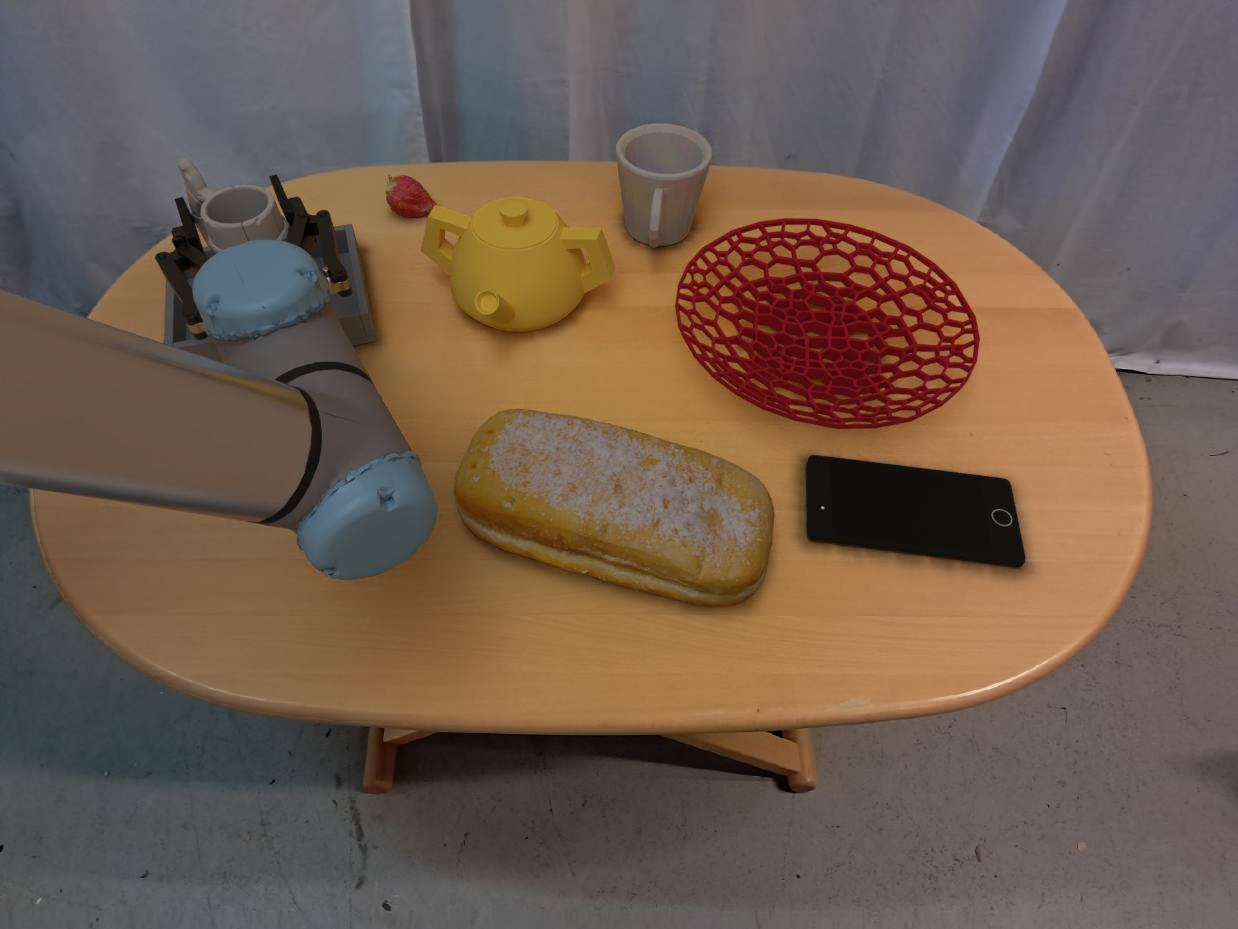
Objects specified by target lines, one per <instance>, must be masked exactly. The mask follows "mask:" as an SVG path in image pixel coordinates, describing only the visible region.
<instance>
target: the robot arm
mask: <svg viewBox="0 0 1238 929" xmlns="http://www.w3.org/2000/svg"><path fill="white" fill-rule="evenodd" d="M268 178H269V180H270V183H271V185H272V188H273V191H274V194H275V197H276V200H277V202H278V204H279V207H280V209H281V211H282V213H283V217H284V218H285V219H286V220H287V222H288V223H289V225H290V227H291V231H290V234H289V238H288V241H287V242H284V241H279V240H253V241H247V242H246V243H244V244H240V245H237V246H233V247H228V248H226V249H224V250H222V251H220V252H218V253H217V254H215V255H214V256H212V257H211V258H209V257H207V256H206V255H205V253H204V250H203V247H204V246H203V244H202V241H201V238H200V234H199V230H198V228H197V226H196V224H195V222H194V220H193V218H192V216H191V213H192V212H191V210H190V209H189V207H188V204H187V203H186V201H185V198H184V197H183V196H180V197H177V198H174V202H175V206H176V208H177V211H178V216H179V219H180V222H181V225H179V226H175V227H172V229H171V232H170V233H171V236H172V238H171V243H172V244H173V246H174V250H173V251H170V252H171V253H168V252H169V251H159V252H158V253H156V254H155V256H154V259H155V261H156V263H157V265H158V266H159V269H160V271H161V272H162V274H163V276H164V278H165V281H166V280H167V281H168V283H169V284H170V286H171V288H172V289H173V291H174V292H175V294H176V295H177V297H178V299H179V300H180V302H181V303H182V305H183V310H182V316H183V318H184V320H185V322H186V324H187V325H188V327H189V329H190V331H191V333H192V335H193V336H194V338H195V339H196V340H203V339H205V338H207V337H208V336H209V337H211V338H212V340H213V342H214V344H215V346H216V348H217V350H218V352H219V354H220V356H221V358H222V360H223V363H222V362H219V361H216V360H213V359H210V358H207V357H203V356H200V355H197V354H194V353H191V352H188V351H185V350H182V349H179V348H176V347H173V346H170V345H167V344H164V342H161V341H157V340H155V339H152V338H148V337H145V336H143V335H139V334H137V333H134V332H130V331H128V330H124V329H122V328H119V327H116V326H113V325H110V324H107V323H104V322H101V321H97V320H96V319H95V320H94V319H91V318H89V317H85V316H82V315H80V314H76V313H73V312H71V311H67V310H64V309H60V308H58V307H55V306H52V305H49V304H46V303H43V302H40V301H37V300H35V299H31V298H28V297H25V296H21V295H19V294H15V293H13V292H9V291H6V290H3V289H1V288H0V485H6V486H11V487H18V488H25V489H32V490H36V491H37V490H39V491H44V492H52V493H57V494H64V495H70V496H77V497H82V498H83V497H84V498H90V499H96V500H104V501H109V502H117V503H124V504H131V505H134V506H135V505H136V506H142V507H149V508H155V509H156V508H157V509H163V510H168V511H175V512H182V513H187V514H193V515H194V514H195V515H201V516H207V517H215V518H220V519H227V520H234V521H240V522H246V523H252V524H258V525H261V526H266V527H274V528H280V529H285V530H289V531H292V532H293V533H294V534H295V535H296V544H297V547H298V549H299V550H300V551H302V552H303V553H304V555H305V556H306V558H307V560H308V561H309V563H311V565H312V566H313V568H315V570H317V571H318V572H320V573H323V574H324V576H325V577H329V578H331V579H335V580H340V581H355V580H356V581H357V580H363V579H367V578H372V577H375V576H378V575H381V574H383V573H386V572H388V571H390V570H393V569H395V568H396V567H399V566H400V565H402V564H403V563H405V562H406V561H407V560H409V559H411V558H412V557H413V556H414V555H415V554H416V553H417V552H418V549H419V548H420V547H421V546H422V545H424V544H425V543H426V541H428V540H429V539H430V537H431V536H432V534H433V532H434V530H435V527H436V525H437V522H438V516H439V505H438V501H437V498H436V496H435V493H434V491H433V489H432V487H431V484H430V482H429V481H428V480H429V479H428V478H427V476H426V473H425V472H424V469H423V467H422V466H423V465H422V464H423V463H422V460H421V458H420V457H419V455H418V454H417V453H415V452H414V450H413V449H412V448H411V446H410V444H409V442H408V440H407V439H406V438H405V435H404V434H403V432H402V431H401V429H400V427H399V425H398V424H397V422H396V420H395V418H394V416H393V415H392V413H391V411H390V410H389V408H388V406H387V404H386V403H385V401H384V399H383V397H382V396H381V394H380V393H379V391H378V389H377V387H376V385H375V383H374V382H373V379H372V377H371V375H370V374H369V372H368V370H367V369H366V367H365V365H364V364H363V362H362V360H361V357H360V356H359V354H358V352H357V351H356V349H355V347H354V345H352V344H351V342H350V340H349V338H348V337H347V335H346V333H345V331H344V330H343V328H342V326H341V324H340V322H339V320H338V318H337V316H336V313H335V311H334V308H333V306H332V303H331V300H330V297H331V295H333V294H335V293H338V294H339V295H340V296H341V297H348V296H350V295H352V293H353V291H352V287H351V284H350V281H349V278H348V274H347V271H346V269H345V267H344V266H343V265H342V264H341V261H340V255H339V249H338V243H337V237H336V232H335V229H334V226H335V225H334V223H333V219H332V216H331V212H330V211H329V210H327V209H321V210H318V211H317V212H316V213H315V214H310V213H308V211H307V209H306V206H305V204H304V203H303V200H302V198H301V197H300V196H298V195H297V196H293V197H289V198H288V196H287V194H286V191H285V189H284V186H283V185H282V182H281V181H280V178H279V175H278V174H277V173H276V174H272V175H269V177H268ZM316 235H319V237H320V244H321V251H322V258H323V261H324V264H325V267H324V268H323V269H322V271H323V273H322V274H320V271H319V269H318V266H317V264H316V262H315V260H314V259H313V258H312V257H311V252H312V248H313V244H314V242H316V243H318V242H317V239H316ZM186 270H187V271H188V272H189V273H191V274H192V275H193V276H195V279H194V282H193V287H192V288H191V286H190V285H189V283H188V282H187V280H186V279H185V277H184V276H183V274H182V272H184V271H186Z"/></svg>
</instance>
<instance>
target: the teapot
mask: <svg viewBox="0 0 1238 929" xmlns="http://www.w3.org/2000/svg"><path fill="white" fill-rule="evenodd" d="M446 232H448V233H451V234H453V235H455V236H458V240H457V241H456V243H455V245H454V244H453V243H451V241H448V240H447V239H446ZM583 249H586V253H587V256H588V260H589V262H588V263H586V259H585V255H584V252H583ZM420 252H422V253H423V254H424V255H425V256H426V257H427V258H429V259H430V260H431V261H432V262H433V263H435V264H436V265H437V266H438V267H439V268H441V269H442V270H443V271H445V272H446V274H448V275H449V282H450V289H451V294H452V296H453V298H454V300H455V302H456V303H457V305H458V306H459V308H460V309H461V310H462V311H463V312H464V313H465V314H467V315H468V316H469V317H471V318H472V319H473V320H475V321H477V322H479V323H481V324H483V325H485V326H487V327H490V328H493V329H496V330H499V331H504V332H510V333H511V332H512V333H524V332H526V333H527V332H535V331H539V330H543V329H545V328H548V327H551V326H552V325H554V324H556V323H558V322H560V321H561V320H563V319H564V318H566V317H567V316H568V315H569V314H571V312H573V311H574V310H575V309H576V308H577V307H578V306H579V304H580V303H581V301H582V300H583V298H584V295H585V294H586V293H589V292H590V291H592V290H594V289H595V288H597V287H599V286H600V285H603V284H604V283H606V282H608V281H610V280H611V279H612V278H613V274H614V271H615V269H616V264H615V262H614V258H613V256H612V253H611V250H610V248H609V245H608V242H607V239H606V236H605V234H604V231H603V228H602V227H583V226H582V227H580V226H579V227H576V226H575V227H571V226H570V227H569V226H568V225H567V223H566V222H565V221H564V220H563V218H562V217H561V216H560V215H559V214H558V213H557V212H556V211H555V209H553V208H552V207H551V206H549V205H548V204H546V203H545V202H542V201H540V200H539V199H538V200H537V199H535V198H530V197H526V196H506V197H501V198H496V199H494V200H491V201H489V202H487V203H485V204H484V205H482V206H480V207H479V208H478V209H477V210H476V211H475V212H474V214H473V215H472V216H470V215H467V214H464V213H461V212H458V211H455V210H452V209H449V208H447V207H443V206H440V205H438V204H437V205H435V206H434V207H433V209H432V211H431V212H430V213H428V215H427V218H426V224H425V229H424V234H423V238H422V244H421V248H420Z"/></svg>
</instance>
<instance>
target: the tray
mask: <svg viewBox="0 0 1238 929" xmlns="http://www.w3.org/2000/svg"><path fill="white" fill-rule="evenodd" d="M333 226H334V229H335V232H336V237H337V243H338V249H339V255H340V261H341V264H342V265H343V266H344V267H345V269H346V271H347V274H348V278H349V281H350V284H351V287H352V291H353V293H352V295H350V296H348V297H341V296H340V295H339V294H338V293H335V294H333V295H331V297H330V300H331V303H332V306H333V308H334V311H335V313H336V316H337V318H338V320H339V322H340V324H341V326H342V328H343V330H344V331H345V333H346V335H347V337H348V338H349V340H350V342H351V344H352V345H353V346H358V345H364V344H368V343H374V342H377V337H376V330H375V326H374V321H373V316H372V309H371V306H370V304H371V303H370V299H369V294H368V289H367V283H366V279H365V273H364V268H363V261H362V257H361V250H360V248H359V243H358V241H357V237H356V233H355V230H354V226H353V224H352V223H348V224H347V223H346V224H341V225H333ZM316 239H317V242H318V243H316V242H314V244H313V248H312V252H311V257H312V258H313V259H314V260H315V262H316V264H317V266H318V269H319V271H320V274H322V273H323V271H322V269H323V268H324V267H325V264H324V261H323V258H322V251H321V244H320V237H319V235H316ZM202 247H203V250H204V253H205V255H206V256H207V257H209V258H211V257H212V256H214V255H215V253H214V252H213V251H212V250H211V248H210V247H208V245H207V246H202ZM167 252H168V253H171V252H172V251H167ZM182 274H183V276H184V277H185V279H186V280H187V282H188V283H189V285H190V286H191V288H192V287H193V282H194V279H195V276H193V275H192V274H191V273H189V272H188V271H187V270H186V271H184V272H182ZM164 300H165V301H164V325H163V326H164V327H163V328H164V330H163V343H164V344H167V345H170V346H173V347H176V348H179V349H182V350H185V351H188V352H191V353H194V354H197V355H200V356H203V357H207V358H210V359H213V360H216V361H219V362H222V363H223V360H222V358H221V356H220V354H219V352H218V350H217V348H216V346H215V344H214V342H213V340H212V338H211V337H209V336H208V337H207V338H205V339H203V340H196V339H195V338H194V336H193V335H192V333H191V331H190V329H189V327H188V325H187V324H186V322H185V320H184V318H183V316H182V310H183V305H182V303H181V302H180V300H179V299H178V297H177V295H176V294H175V292H174V291H173V289H172V288H171V286H170V284H169V283H168V281H167V280H166V279H165V297H164Z"/></svg>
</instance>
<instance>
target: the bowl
mask: <svg viewBox="0 0 1238 929" xmlns="http://www.w3.org/2000/svg"><path fill="white" fill-rule="evenodd" d="M779 226H781V227H780V228H781V229H780V230H775V231H769V232H768V230H767V229H766V228H772V227H779ZM786 226H806V227H805V228H806V229H805V230H802V231H798V232H792V231H788V230H786ZM811 226H818V227H822V229H823V231H824V232H825V234H826V235H825V236H823V235H818V234H815V233H814V232H813V231H811V230H810V229H811ZM832 229H835V230H842V231H843V233H841V232H837V231H833V230H832ZM756 230H759V232H760V233H761V235H759V236H758V237H754V236H753V237H752V236H744V235H743V234H744V233H748V232H751V231H756ZM849 233H854V234H858V235H860V236H864V237H868V238H871V239H870V242H861V241H857V240H855V239H853V238H852V237H850V236H848V234H849ZM735 236H736V238H737V239H736V240H734V239H733V238H734V237H735ZM805 237H808V238H805ZM772 239H773V240H772ZM774 239H778V240H774ZM786 239H789V240H794V241H796V242H795V243H794V244H793V243H790V242H789V241H787V240H786ZM876 240H877V241H879V242H881V243H883V244H886V245H888V246H890V247H892V248H894V250H893V251H885V250H881V249H879V247H877V246H875V245H874V244H875V241H876ZM764 241H765V243H766V244H765V245H763V244H761V243H762V242H764ZM724 242H727V243H728V245H729V246H730V247H729V248H728V250H717V249H716V247H717V246H719V245H722V243H724ZM842 242H843V243H846V244H848V245H850V246H853V247H854V249H855V250H853V251H851V252H849V253H848V252H846V251H844V250H842V249H840V248H839V247H838V245H839V244H841V243H842ZM740 244H747V245H754V246H755V247H754V248H753V249H752V250H743V249H742V248H741V247H740V246H739V245H740ZM824 245H830V246H831V247H832V248H827V249H825V247H824ZM780 246H781V247H783V248H784V249H786V250H787V251H788V252H790V254H791V257H790V256H783V255H778V254H777V253H776V251H775V250H774V249H776V248H778V247H780ZM809 246H810V247H813V248H816V249H817V250H818V251H819V253H818V254H817V255H816V256H815V257H814V258H813V259H806V258H799V257H798V255H797V250H798V249H799V248H800V247H809ZM899 251H901V252H904V253H905V254H906V255H904V254H902V253H898V252H899ZM708 252H709V253H711V254H713V255H714V256H715V258H716V260H714V261H713V262H712V261H711V260H710V259H709V258H708V257H707V255H706V253H708ZM733 252H735V253H736V254H738V255H739V257H740V258H741V260H740V263H739V264H738V265H737V266H736V267H735V266H734V264H732V263H731V262H730V261H729V256H730V255H731V254H732V253H733ZM758 253H768V254H769V256H770V257H771V260H769V261H768V262H765V261H764V260H763V261H762V260H760V259H757V258H756V257H755V255H757V254H758ZM829 256H839V257H840V258H842V259H844V260H846V261H847V262H848V263H849V265H850V267H849V268H847V270H844V271H843V272H835V271H822V270H821V269H820V268H819V266H818V265H817V264H818V263H820V261H821V260H822V259H823V258H824V257H829ZM858 256H860V257H867V258H868V259H869V260H870V261H871V262H872V263H871V265H870V267H869V266H865V265H860V264H857V262H856V261H855V258H856V257H858ZM911 257H912V258H914V259H915V260H917V261H918V262H920V263H921V264H923V265H924V266H926V267H927V268H928V270H927V273H926V272H924V271H921V270H919V269H916V268H915V267H914V266H913V263H912V262H911V260H910V258H911ZM700 259H701V260H702V262H703V264H705V266H706V267H707V268H706V269H704V268H701V267H699V264H698V261H699V260H700ZM893 260H894V261H897V262H901V263H903V264H904V266H905V269H906V270H907V271H908V272H907V273H906V274H904V273H899V272H895V271H894V269H893V267H892V264H891V263H892V261H893ZM776 264H778V265H779V264H780V265H783V266H789V267H793V268H794V272H795V273H792V274H789V275H786V276H775V275H774V276H772V275H770V270H769V269H771V268H772V267H774V266H775V265H776ZM877 265H880V266H883V267H884V268H885V270H886V272H887V274H888V275H885V276H884V277H882V276H881V275H880V273H879V272H878V271H877V270H876V269H875V268H876V266H877ZM718 266H723V267H727V268H728V271H730V272H729V273H727V274H725V275H724V274H723V273H722V272H721V271H720V270H719V269H718V268H717V267H718ZM751 266H753V267H755V268H758V269H759V270H761V271H763V277H762V276H761V277H759V278H755V279H752V280H750V279H748V278H747V277H746V275H744V274H742V272H741V269H742V268H745V267H751ZM802 268H805V269H810V270H811V271H803V269H802ZM932 272H933V273H934V274H935V275H936V276H937V277H938V278H940V280H942V281H941V282H940V281H938V280H937V278H934V277H933V276H932V275H931V274H932ZM710 273H712V274H713V275H714V276H715V277H716V278H717V279H718V282H717V283H716V284H715V285H712V284H711V283H710V282H709V281H708V280H707V275H709V274H710ZM854 273H856V274H863V275H869V277H870V278H871V279H872V281H873V282H875V283H873V284H872V285H870V286H867V285H864V284H860V283H858V282H855V281H854V280H853V279H852V278H851V277H850V276H852V275H853V274H854ZM688 274H689V275H690V279H691V281H690V282H689V283H688V282H687V283H686V282H685V280H686V278H687V276H688ZM696 274H698V275H701V276H702V280H701V281H700V282H699V281H698V280H696V279H695V275H696ZM911 277H915V278H916V279H919V280H921V281H923V282H922V283H917V284H914V283H913V281H912V280H911V279H910V278H911ZM733 279H736V280H737V281H738V282H739V283H740V285H739V286H737V285H736V284H735V283H734V282H732V280H733ZM890 280H893V281H897V282H902V283H903V284H904V286H905V288H902V289H898V290H895V289H894V287H893V286H891V285H890V284H889V283H888V282H890ZM812 282H817V283H812ZM829 282H830V283H829ZM831 282H833V283H835V282H836V283H841V284H842V285H843V286H839V287H837V286H835V285H834V284H831ZM798 283H799V286H800V288H794V289H793V288H790V287H789V286H791V285H794V284H798ZM927 283H928V285H929V286H928V285H927ZM723 287H726V288H727V289H728V290H729V291H730V292H731V293H732V294H731V295H722V294H721V293H720V290H721V289H722V288H723ZM763 287H766V288H767V290H759V289H760V288H763ZM948 287H949V288H950V289H949V288H948ZM704 288H706V290H708V291H707V292H706V293H703V292H702V291H700V290H701V289H704ZM758 288H759V289H758ZM879 289H880V290H881V291H882V292H883V293H885V294H881V293H879V292H878V291H879ZM681 290H688V291H689V292H690V293H692V295H690V294H687V293H683V292H681ZM937 291H938V292H940V293H942V294H943V296H940V295H939V296H938V294H937V293H936V292H937ZM747 292H749V294H750V295H751V296H752V298H750V297H748V296H746V295H745V294H744V293H747ZM821 293H823V294H821ZM909 294H912V295H915V296H917V297H919V298H921V299H922V301H923V302H924V304H925V305H926V306H925V307H922V308H921V309H916V308H913V307H910V306H907V304H906V302H905V301H904V300H903V298H902V297H905V296H908V295H909ZM777 295H782V296H783V297H781V298H780V297H779V298H778V297H777ZM675 296H676V297H675V302H674V303H675V304H674V308H675V316H676V321H677V327H678V330H679V332H680V335H681V338H682V340H683V341H684V342H685V344H686V346H687V348H688V350H689V351H690V353H691V354H692V356H693V358H694V359H695V360H696V361H697V363H698V364H699V365H700V366H701V367H702V368H703V369H704V370H705V371H706V373H707V374H708V375H709V376H710V377H711V378H712V379H714V380H715V381H716V382H718V383H719V384H720V385H721V386H722V387H724V388H725V389H726V390H728V391H729V392H730V393H732V394H733V395H734V396H736V397H738V398H740V399H742V400H744V401H745V402H747V403H749V404H751V405H753V406H755V407H757V408H759V409H760V410H762V411H765V412H768V413H771V414H774V415H777V416H779V417H782V418H785V419H787V420H791V421H794V422H797V423H801V424H803V423H804V424H808V425H814V426H819V427H824V428H828V429H834V430H860V429H861V430H863V429H864V430H871V429H873V430H875V429H882V428H887V427H890V426H896V425H901V424H906V423H911V422H913V421H915V420H917V419H920V418H921V417H924V416H925V415H927V414H930V413H932V412H933V411H936V410H937V409H939V408H942V407H943V406H944V405H945V404H946V403H948V402H949V401H950V400H951V399H952V398H954V396H956V395H957V394H958V393H959V392H961V390H962V389H963V387H964V386H965V385H966V383H968V382H969V379H970V378H971V376H972V373H973V371H974V370H975V367H976V365H977V362H978V357H979V349H980V342H981V336H980V332H979V326H978V321H977V316H976V314H975V313H974V311H973V309H972V308H971V306H970V304H969V303H968V300H967V299H966V297H965V296H964V294H963V292H962V291H961V289H960V288H959V286H958V284H957V282H956V281H954V280H953V279H952V278H951V277H950V276H949V275H948V274H947V273H946V272H945V271H944V270H943V269H942V268H941V267H940V266H939V265H938V264H937V263H936V262H934V261H933V260H931V259H930V258H928V257H927V256H925V255H924V254H922V253H921V252H919V251H918V250H916V249H915V248H913V247H912V246H910V245H908V244H906V243H903V242H901V241H899V240H896V239H895V238H891V237H889V236H887V235H885V234H883V233H880V232H878V231H874V230H872V229H868V228H865V227H861V226H858V225H854V224H851V223H846V222H841V221H840V222H839V221H834V220H827V219H822V218H809V217H807V218H805V217H804V218H801V217H800V218H795V217H793V218H792V217H785V218H784V217H783V218H777V219H776V218H775V219H768V220H760V221H757V222H754V223H750V224H747V225H743V226H740V227H737V228H734V229H731V230H729V231H728V232H726V233H724V234H723V235H721V236H719V237H718V238H715V239H714V240H713V241H711V242H709V243H708V244H706V245H704V246H703V247H701V248H700V249H699V251H697V252H696V253H695V255H694V256H693V257H692V258H691V259H690V260H689V262H688V263H687V265H686V266H685V268H684V270H683V273H682V275H681V277H680V279H679V281H678V283H677V288H676V295H675ZM950 296H955V297H956V299H957V300H958V302H959V304H960V305H956V304H955V303H954V302H952V301H951V300H950V299H949V297H950ZM712 297H714V298H715V300H717V301H718V303H716V302H715V301H713V300H712V299H711V298H712ZM845 298H848V299H850V300H848V299H845ZM865 298H868V299H870V300H872V301H874V302H875V303H876V306H875V307H873V308H871V309H867V310H865V309H864V308H863V307H861V306H860V305H859V304H858V303H857V302H859V301H861V300H863V299H865ZM679 300H682V301H685V302H689V303H691V306H692V308H689V309H688V308H686V307H685V306H684V305H682V304H681V303H680V302H679ZM892 301H893V303H894V305H895V306H896V308H897V309H898V310H899V312H900V314H899V315H894V314H893V315H891V314H887V313H886V312H885V311H884V310H883V309H882V308H881V305H883V304H886V303H889V302H892ZM764 302H766V303H764ZM696 303H698V304H699V303H705V304H706V305H707V306H708V307H709V308H711V309H712V311H713V312H714V313H715V314H714V318H713V319H711V318H707V317H704V316H702V315H701V313H700V312H699V311H698V310H697V306H696V305H697V304H696ZM727 304H729V305H730V304H731V305H733V306H734V307H735V308H736V309H737V311H736V312H734V313H733V312H731V311H729V310H727V309H724V308H722V306H723V305H727ZM939 304H943V305H944V306H945V307H946V308H945V307H942V306H941V305H939ZM812 306H815V307H817V308H820V309H818V310H817V309H816V310H815V309H814V308H812ZM743 307H744V308H746V309H744V308H743ZM821 309H824V310H821ZM928 311H932V312H934V313H936V314H939V315H941V319H942V320H943V322H941V323H939V324H933V323H930V322H926V321H925V320H924V316H923V314H924V313H926V312H928ZM951 312H953V313H959V314H965V315H966V316H967V318H968V319H966V320H963V321H961V320H957V319H952V318H949V315H948V314H949V313H951ZM681 313H682V314H684V315H685V316H686V317H687V319H688V320H689V322H690V324H689V326H688V325H686V324H684V323H683V322H682V318H681ZM693 316H695V317H696V319H698V320H699V322H700V323H699V322H696V321H695V320H694V318H693ZM904 316H909V317H913V318H916V323H914V324H912V325H908V324H907V323H906V320H905V319H904ZM719 317H722V319H723V318H724V319H725V320H727V321H729V322H730V323H732V325H733V327H734V329H735V330H736V331H737V335H730V336H729V335H728V336H727V335H726V334H725V332H724V331H723V329H722V328H721V326H720V325H719V322H718V321H719ZM873 319H875V320H876V321H873ZM742 320H743V321H745V322H747V323H750V324H752V327H751V326H745V325H743V324H742V323H741V322H740V321H742ZM706 326H707V327H710V328H713V329H714V331H715V332H716V334H717V336H714V335H713V333H711V331H709V329H708V328H707V327H706ZM759 326H763V327H769V328H770V329H772V330H773V331H775V332H773V333H770V332H767V331H764V330H762V329H760V328H759ZM892 326H896V327H895V328H894V327H892ZM946 326H947V327H951V328H956V329H960V331H958V332H957V333H955V334H954V335H945V333H944V332H943V330H942V329H943V328H945V327H946ZM967 326H970V327H967ZM694 329H696V330H698V331H700V332H702V333H703V334H704V335H705V337H707V338H708V339H709V340H710V342H711V345H707V344H705V343H703V342H701V341H700V340H699V339H698V337H697V336H696V334H695V333H694V331H693V330H694ZM919 330H921V331H922V330H923V331H926V332H931V333H934V334H936V335H937V337H938V339H939V340H938V342H937V344H927V343H918V342H917V340H916V338H915V336H914V334H913V333H915V332H917V331H919ZM809 333H810V334H811V333H813V334H816V335H808V334H809ZM854 334H867V336H868V338H866V339H864V338H857V337H852V335H854ZM963 335H972V338H973V339H972V340H969V341H968V342H966V343H956V341H957V340H958V339H960V338H961V337H962V336H963ZM850 336H851V337H850ZM743 337H745V338H748V339H750V340H751V341H750V342H747V341H746V340H745V339H744V338H743ZM901 337H902V338H903V339H904V340H905V343H906V344H907V346H904V347H902V346H901V347H900V346H895V345H890V344H888V342H887V341H886V340H887V339H890V338H891V339H892V338H901ZM716 345H721V346H724V347H725V349H726V351H727V352H728V353H729V354H724V352H721V351H720V350H718V349H717V348H716ZM734 345H735V346H738V347H739V348H740V349H742V350H743V351H744V352H746V354H747V356H748V358H747V357H744V356H741V355H739V353H738V352H737V351H736V348H734ZM694 346H695V347H697V349H698V350H699V352H700V353H698V352H697V351H696V349H695V348H694ZM874 347H875V348H876V349H877V350H878V351H877V350H874V349H872V348H874ZM971 347H973V350H972V356H967V355H966V353H964V351H965V350H967V349H969V348H971ZM817 349H821V350H819V351H818V350H817ZM941 352H949V354H948V355H941ZM918 353H934V356H932V357H928V358H923V357H922V356H920V355H918ZM709 354H711V355H712V356H710V355H709ZM886 356H891V357H895V358H896V357H897V358H898V360H897V361H895V362H883V361H882V359H883V358H884V357H886ZM953 357H958V358H960V359H961V360H962V361H951V360H950V359H951V358H953ZM824 359H825V360H824ZM826 360H828V361H826ZM829 361H830V362H829ZM910 362H913V363H914V364H916V365H917V368H913V369H907V370H902V369H901V368H900V366H902V365H903V364H905V363H910ZM730 363H732V364H737V365H738V366H739V367H740V369H742V370H743V371H744V372H743V371H741V370H738V369H737V368H734V367H732V365H730ZM869 363H872V364H869ZM933 364H938V365H939V366H941V367H943V369H942V370H941V372H940V373H937V374H936V373H935V374H929V373H927V372H925V371H924V370H923V367H925V366H929V365H933ZM968 364H971V365H968ZM709 365H710V366H709ZM948 369H960V370H962V371H964V372H966V373H967V374H966V376H964V377H958V378H952V377H950V376H949V375H948V374H947V373H946V372H947V370H948ZM889 373H890V374H891V375H890V376H888V377H886V376H885V375H883V374H889ZM911 377H915V378H916V379H919V380H920V381H922V384H920V385H918V386H915V387H912V388H911V387H902V386H895V385H894V384H893V383H894V382H896V381H897V380H900V379H905V378H911ZM752 380H755V381H757V382H758V383H759V384H761V385H762V386H764V387H762V386H760V385H758V384H756V383H754V382H753V381H752ZM935 380H941V381H942V382H943V383H945V385H944V386H943V387H933V388H930V387H928V386H927V383H928V382H932V381H935ZM814 381H820V382H821V383H822V384H816V382H814ZM954 384H959V385H954ZM952 385H954V386H952ZM765 387H766V388H765ZM775 388H777V389H778V388H779V389H783V390H786V391H787V392H790V393H792V394H795V395H798V396H800V397H803V398H804V399H797V398H791V397H789V396H787V395H784V394H782V393H780V392H777V391H776V389H775ZM882 389H884V390H882ZM943 394H947V395H946V397H944V398H943V399H939V397H940V396H941V395H943ZM891 395H902V396H903V395H904V396H906V395H907V396H910V397H907V398H905V399H892V398H891V397H889V396H891ZM929 395H931V396H929ZM839 396H841V397H845V398H841V397H839ZM815 400H823V401H826V402H828V403H825V402H820V401H815ZM874 401H879V402H880V403H882V404H883V405H877V406H876V405H875V406H872V405H868V404H865V403H868V402H874ZM916 401H921V403H919V404H917V405H910V404H912V403H914V402H916ZM930 404H931V406H929V407H928V408H925V409H924V410H923V409H922V408H924V407H926V406H928V405H930ZM790 405H791V406H798V407H804V408H810V409H811V410H812V411H807V410H801V409H797V408H793V407H791V406H790ZM852 405H856V406H852ZM845 406H852V407H845ZM894 406H897V407H894ZM892 407H894V408H892ZM862 411H863V412H862ZM902 411H903V412H904V411H905V412H906V411H907V412H915V414H913V415H909V416H907V417H906V416H898V415H893V414H895V413H898V412H902ZM866 412H867V413H866ZM836 413H842V414H849V415H851V416H853V417H841V416H840V415H838V414H836Z"/></svg>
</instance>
